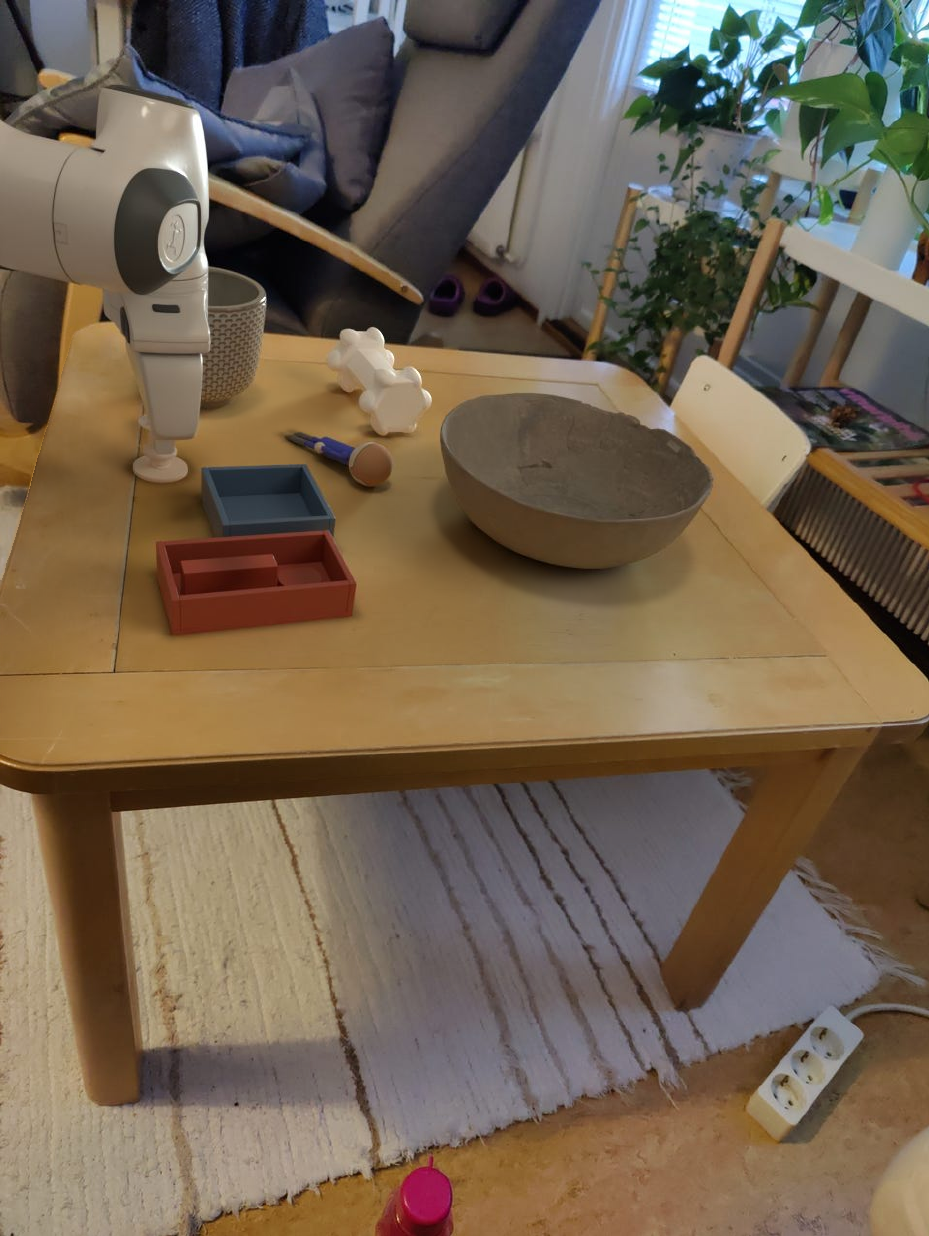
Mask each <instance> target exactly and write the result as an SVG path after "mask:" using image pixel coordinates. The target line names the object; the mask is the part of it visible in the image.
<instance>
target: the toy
mask: <svg viewBox="0 0 929 1236" xmlns="http://www.w3.org/2000/svg"><path fill="white" fill-rule="evenodd" d="M284 436H285V439H287V440H288V441H289V442H292V443H294V444H297V445H300V446H303V447H305V448H310V449H312V450H314V451H315V452H316V453H317V454H319V455H322V456H324V457H326V458H328V459H330V460H333V461H335V462H337V463H340V464H343V465H346V466H348V468H349V472H350V475H351V476H352V478H353V479H354V480H355V481H356V482H357V483H358V484H360V485H362V486H365V487H378V486H380V485H382V484H384V483H385V482H386V481H387V480H389V478H390V477H391V475H392V472H393V469H394V467H393V466H394V461H393V457H392V455H391V453H390V452H389V450H388V449H387V448H386V447H385V446H383V445H382V444H380V443H377V442H373V441H369V442H364V443H361V444H359V445H357V446H356V447H353V446H351V445H349V444H346V443H344V442H341V441H339V440H336V439H333V438H331V437H328V436H323V437H321V438H320V437H317V436H312V435H309V434H306V433H304V432H301V431H298V432H293V434H285V435H284Z"/></svg>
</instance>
